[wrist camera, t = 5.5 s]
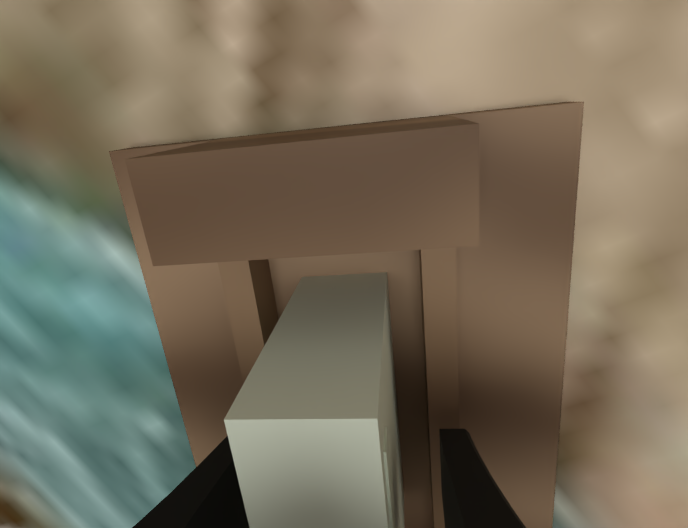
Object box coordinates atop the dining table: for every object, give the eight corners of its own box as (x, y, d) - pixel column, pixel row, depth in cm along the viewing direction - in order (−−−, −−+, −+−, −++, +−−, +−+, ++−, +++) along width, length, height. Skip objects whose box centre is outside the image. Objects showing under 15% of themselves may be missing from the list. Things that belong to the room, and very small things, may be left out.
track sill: (539, 556, 16) (595, 737, 12) (233, 545, 18) (176, 699, 13) (567, 101, 11) (692, 101, 6) (130, 148, 13) (-25, 173, 8)
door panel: (405, 493, 15) (409, 732, 9) (332, 492, 15) (293, 721, 10) (388, 272, 12) (381, 418, 6) (300, 277, 12) (220, 420, 7)
